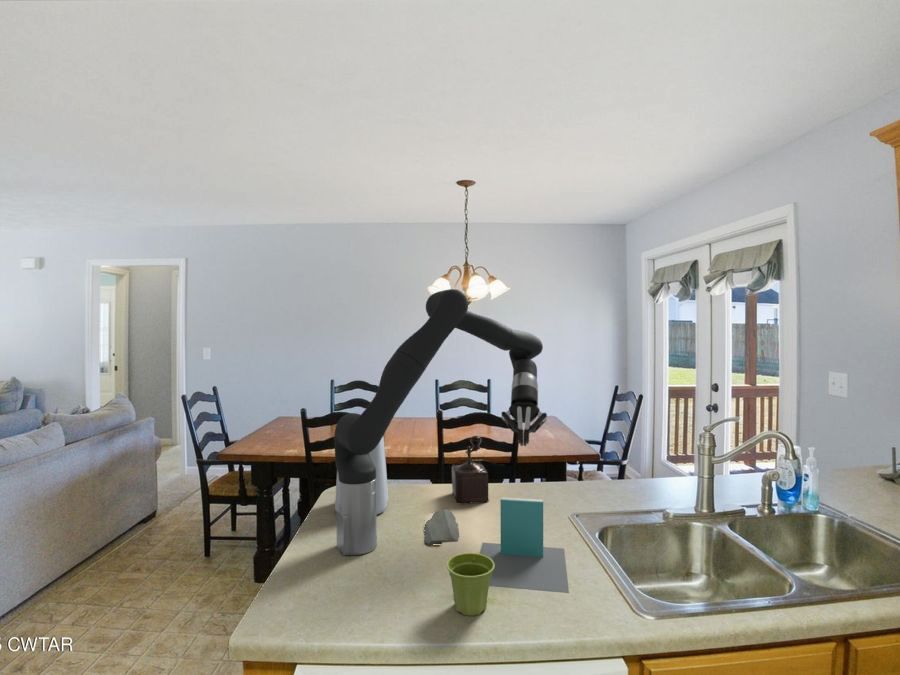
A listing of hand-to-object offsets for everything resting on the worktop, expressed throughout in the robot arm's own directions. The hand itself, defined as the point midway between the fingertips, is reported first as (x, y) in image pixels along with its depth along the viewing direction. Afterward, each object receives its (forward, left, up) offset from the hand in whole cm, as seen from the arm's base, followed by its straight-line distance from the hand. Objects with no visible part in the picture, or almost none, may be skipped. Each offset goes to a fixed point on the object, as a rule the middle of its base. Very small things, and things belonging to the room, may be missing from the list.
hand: (523, 444), depth 130 cm
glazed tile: (-9, -10, -23) cm, 27 cm away
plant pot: (-30, -22, -24) cm, 44 cm away
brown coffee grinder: (+3, +33, -24) cm, 41 cm away
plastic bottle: (-31, +40, -24) cm, 56 cm away
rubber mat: (-12, -15, -24) cm, 31 cm away
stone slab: (-17, +15, -25) cm, 33 cm away
